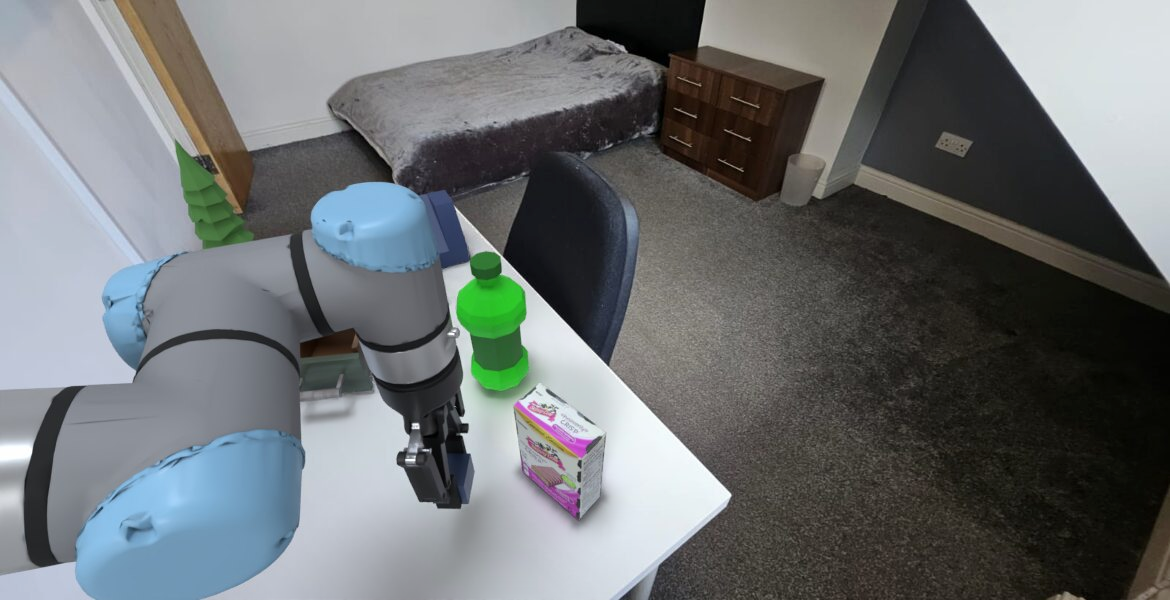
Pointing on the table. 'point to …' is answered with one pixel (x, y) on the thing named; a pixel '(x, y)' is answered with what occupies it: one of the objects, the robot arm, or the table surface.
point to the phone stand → (446, 228)
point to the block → (462, 473)
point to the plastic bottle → (494, 323)
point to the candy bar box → (560, 449)
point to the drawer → (333, 367)
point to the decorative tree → (209, 205)
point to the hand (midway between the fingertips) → (454, 485)
